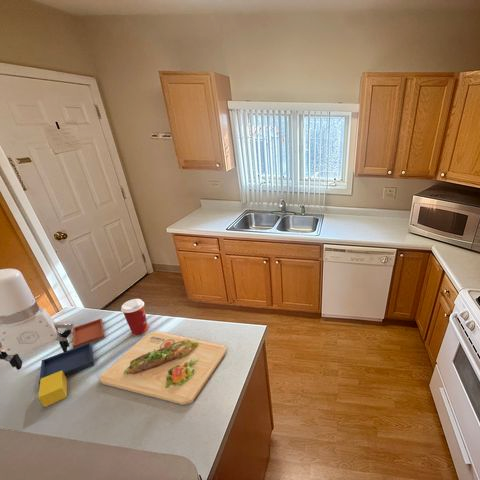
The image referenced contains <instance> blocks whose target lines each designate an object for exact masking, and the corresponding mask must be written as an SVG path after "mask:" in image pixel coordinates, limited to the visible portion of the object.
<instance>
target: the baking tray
mask: <svg viewBox="0 0 480 480" xmlns="http://www.w3.org/2000/svg"><path fill="white" fill-rule="evenodd" d="M94 366H95V359H94V348H93V343H91V342H90V343H87V344H85V345H82V346H79V347H76V348H74V347H73V348H71V349H67V352H63V351H62V352H61V353H58V354H55V355H52V356H50V357H47V358H44V359H42V360H41V363H40V373H39V380H38V384H39V385H40V380H41V379H42V378H44V377H47V376H49V375H52V374H54V373H57V372H59V371H63V373H64V375H65V377H66V378H68V377H69V376H72V375H74V374H77V373H79V372H81V371H84V370H87V369H89V368H92V367H94Z"/></svg>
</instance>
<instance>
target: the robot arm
mask: <svg viewBox="0 0 480 480" xmlns="http://www.w3.org/2000/svg"><path fill="white" fill-rule="evenodd" d="M73 328H74V322H73V321H65V322H56V321H55V320H53V318H52V316H51V315H50V314H49V312H47V310H46V309H45V308H44V307H42V306H39V304H38V302H37V301H36V299H35V297H34V294H33V293H32V291H31V289H30V287H29V285H28V283H27V281H26V279H25V277H24V275H23V273H22V271H20V270H19V269H17V268H2V269H0V349H1V348H2V349H3V351H1V350H0V360H3V361H5V362H8V363H9V364H10V366H11V367H12V368H15V369H16V370H17V371H19V370H21V369H22V368H23V367H22V366H23V360H22V358H21V356H20V355H19V354H22V353H24V352H25V353H26V352H28V351H30V350H33V349H35V348H39V347H41V346H45V345H47V344H50V343H53V342H54V341H58V343H59V346H60V348H61V350H62V353H63V352H67V351H68V348H69V347H70V343H69V340H68V337H69V336H70V335H71V333H72V332H73ZM59 329H65V330H64V331H59Z"/></svg>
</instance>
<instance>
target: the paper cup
mask: <svg viewBox="0 0 480 480" xmlns="http://www.w3.org/2000/svg"><path fill="white" fill-rule="evenodd" d="M120 311H121V312H122V313H123V316H124V318H125V320H126V323H127V325H128V327H129V329H130V332H131V334H132V335H133V336H141V335H143V334H145V333H146V332H147V331H148V330H149V325H148V319H147V315H146V310H145V302H144V301H143V300H142V298H141V299H140V298H132V299H129V300H127V301H125V302H123V304H122V305H121V308H120Z"/></svg>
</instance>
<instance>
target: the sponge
mask: <svg viewBox="0 0 480 480" xmlns="http://www.w3.org/2000/svg"><path fill="white" fill-rule="evenodd" d="M67 388H68V379H67V377H65V375H64V373H63V371H59V372H57V373H54V374H52V375H49V376H47V377H44V378H42V379H41V380H40V384H39V390H38V399H39V401H40V403H41V404H42V406H43V407H44V408H46V407H49V406H50V405H52V404H54V403H57V402H59V401H62V400H63V399H66V398H67V395H68V393H67V392H68V389H67Z"/></svg>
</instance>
